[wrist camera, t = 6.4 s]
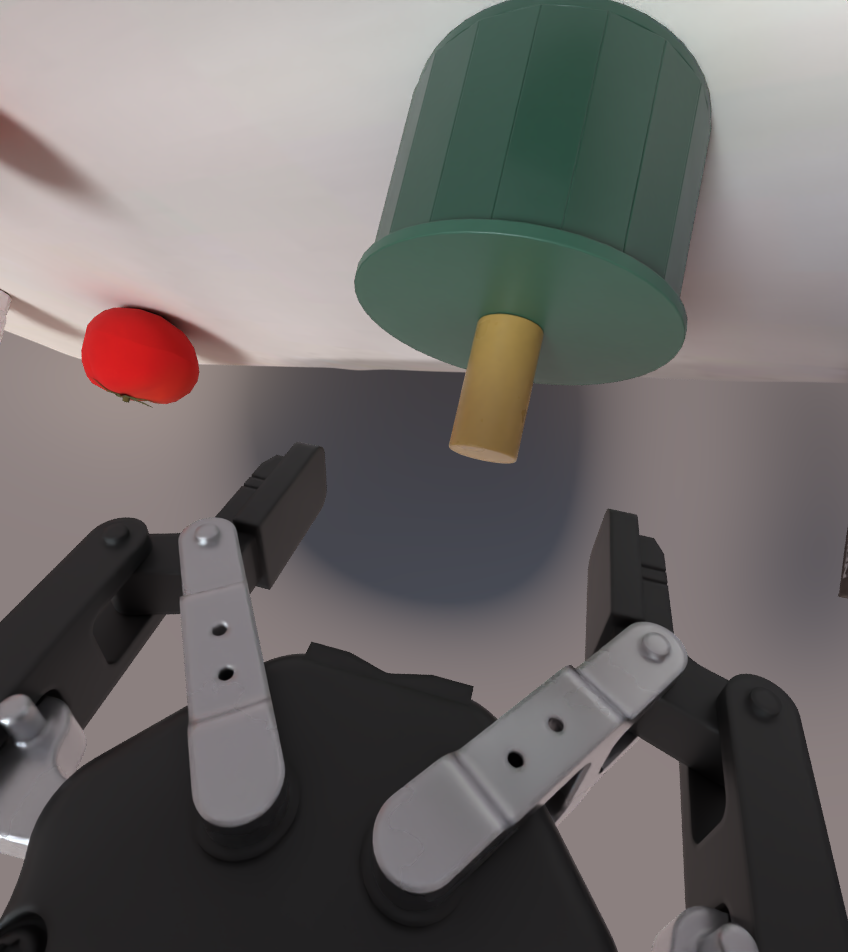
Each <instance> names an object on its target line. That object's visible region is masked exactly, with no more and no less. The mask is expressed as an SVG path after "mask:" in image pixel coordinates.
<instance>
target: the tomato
mask: <svg viewBox="0 0 848 952" xmlns="http://www.w3.org/2000/svg"><path fill="white" fill-rule="evenodd" d="M81 352H82V363H83V366H84V369H85V372H86V375H87V377H88V378H89V379H90V381H91V382H92V383H93V384H95V385H97V386H98V387H100V388H102V389H104V390H106V391H108V392H111V393H114V394H116V396H118V397H123V401H124V402H129V401H130V400H133V401H138V402H140V403H143V402H141V401H150V402H153V403H159V404H168V403H171V402H176V401H178V400H179V399H181V398H182V397H184V396H185V395H187V394H189V393H190V392H191V390H192V389H193V387H194V385H195V384H196V383H197V381H198V376H199V366H198V360H197V357H196V353H195V349H194V347H193V346H192V344H191V342H190V341H189V339H188V338H187V336H186V335H185V334H184V333H183V332H182V331H181V330H179V329H178V328H177V327H175V326H174V325H172V324H171V323H169V322H168V321H167V320H165V319H164V318H162V317H161V316H158V315H155V314H153V313H150V312H147V311H144V310H141V309H133V308H111V309H108V310H105V311H103V312H101V313H100V314H98V315H97V316H96V317H94V318H93V319H92V321H91V322H90V323H89V324H88V325H87V329H86V333H85V338H84V342H83V346H82V350H81ZM143 404H145V403H143ZM145 405H147V404H145ZM147 406H149V405H147ZM150 407H151V406H150Z"/></svg>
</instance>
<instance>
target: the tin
mask: <svg viewBox="0 0 848 952" xmlns="http://www.w3.org/2000/svg"><path fill="white" fill-rule="evenodd" d="M710 118H711V105H710V96H709V91H708V88H707V84H706V81H705V78H704V75H703V73H702V71H701V69H700V67H699V66H698V64H697V62H696V60H695V58H694V57H693V55H692V54H691V53H690V52H689V50H688V49H687V48H686V46H685V45H684V44H683V43H682V42H681V41H680V40H679V39H678V38H677V37H676V36H675V35H674V34H673V33H672V32H671V31H669V30H668V29H667V28H666V27H665V26H663V25H662V24H660V23H659V22H657V21H656V20H654V19H653V18H651V17H650V16H648V15H646V14H644V13H642V12H640V11H638V10H635V9H633V8H631V7H629V6H627V5H624V4H621V3H618V2H614V1H611V0H508V1H505V2H502V3H500V4H497V5H494V6H492V7H489V8H487V9H484V10H483V11H481V12H479V13H477V14H475V15H474V16H472V17H470V18H468V19H467V20H465V21H464V22H463V23H461V24H460V25H459V26H457V27H456V28H455V29H454V30H452V31H451V32H450V33H449V34H448V35H447V36H446V37H445V38H444V39H443V40H442V41H441V42H440V44H439V45H438V46H437V47H436V48H435V50H434V51H433V53H432V54H431V56H430V57H429V59H428V60H427V62H426V64H425V67H424V69H423V71H422V73H421V75H420V79H419V82H418V84H417V86H416V87H415V89H414V92H413V96H412V100H411V104H410V108H409V112H408V116H407V120H406V123H405V127H404V131H403V135H402V139H401V143H400V147H399V150H398V154H397V158H396V162H395V166H394V170H393V174H392V178H391V181H390V185H389V189H388V193H387V197H386V201H385V205H384V209H383V212H382V216H381V220H380V224H379V228H378V232H377V236H376V239H375V242H377V241H378V240H380V239H381V238H383V237H384V236H386V235H388V234H391V233H393V232H395V231H398V230H400V229H403V228H406V227H410V226H414V225H417V224H421V223H427V222H433V221H440V220H451V219H468V218H471V219H499V220H508V221H517V222H526V223H531V224H536V225H541V226H546V227H552V228H556V229H560V230H563V231H567V232H571V233H574V234H578V235H581V236H584V237H587V238H590V239H592V240H595V241H598V242H601V243H603V244H606V245H609V246H611V247H613V248H615V249H617V250H619V251H621V252H623V253H625V254H627V255H629V256H631V257H633V258H635V259H636V260H638V261H639V262H641V263H643V264H644V265H646V266H648V267H649V268H651V269H652V270H653V271H654V272H656V273H657V274H658V275H659V276H660V277H662V278H663V279H664V280H665V281H666V282H667V283H668V284H669V285H670V286H671V287H672V288H673V290H674V291H675V292H676V293H677V294H678V296H679V298H680V293H681V288H682V283H683V277H684V272H685V266H686V261H687V256H688V250H689V245H690V240H691V234H692V229H693V224H694V218H695V213H696V207H697V202H698V197H699V191H700V186H701V181H702V175H703V170H704V164H705V159H706V154H707V148H708V143H709V138H710V132H711V122H710Z"/></svg>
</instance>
